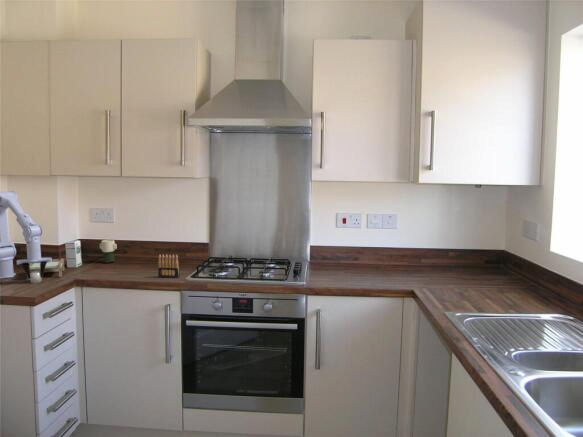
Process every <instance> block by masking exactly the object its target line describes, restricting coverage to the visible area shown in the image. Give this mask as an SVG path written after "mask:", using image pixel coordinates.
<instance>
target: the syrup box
mask: <svg viewBox="0 0 583 437" xmlns="http://www.w3.org/2000/svg"><path fill="white" fill-rule="evenodd" d="M64 244H65V246H64V247H65V258H66V267H67V268H79V267H80V266H82V265H83V261H82V260H83V259H82V258H83V257H82V250H81V249H82V245H81V240H78V239H75V240H73V239H72V240H69V241H66V242H65V243H64Z"/></svg>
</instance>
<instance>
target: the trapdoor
mask: <svg viewBox="0 0 583 437" xmlns="http://www.w3.org/2000/svg"><path fill="white" fill-rule="evenodd" d="M37 262H38V261H37ZM59 262H60V259H59V258H56V259H55V258H54V259H52V262H47V264H46V266H45V268H55V267H58V264H59ZM30 268H31V269H30V270H32V269H41V268H40V263H34V264H33V265H32V266H31V267H30Z"/></svg>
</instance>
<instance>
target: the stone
mask: <svg viewBox="0 0 583 437" xmlns="http://www.w3.org/2000/svg"><path fill="white" fill-rule="evenodd" d="M42 278H43V277H41V271H32V270H31V271H30V280H29V281H30V284H40V283H42V280H43V279H42Z"/></svg>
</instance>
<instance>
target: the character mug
mask: <svg viewBox="0 0 583 437" xmlns="http://www.w3.org/2000/svg"><path fill="white" fill-rule="evenodd" d="M117 246H118V245H117V243H116V242H115V239H105V240H101V243H99V249H101V252H102V253H103V257H102V258H103V259H102V262H103V263H106V264H107V263H112V262H113V263H114V262H115V261H116V259H115V255H114V254H115V253H113V252H115V250H117V248H118V247H117Z"/></svg>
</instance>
